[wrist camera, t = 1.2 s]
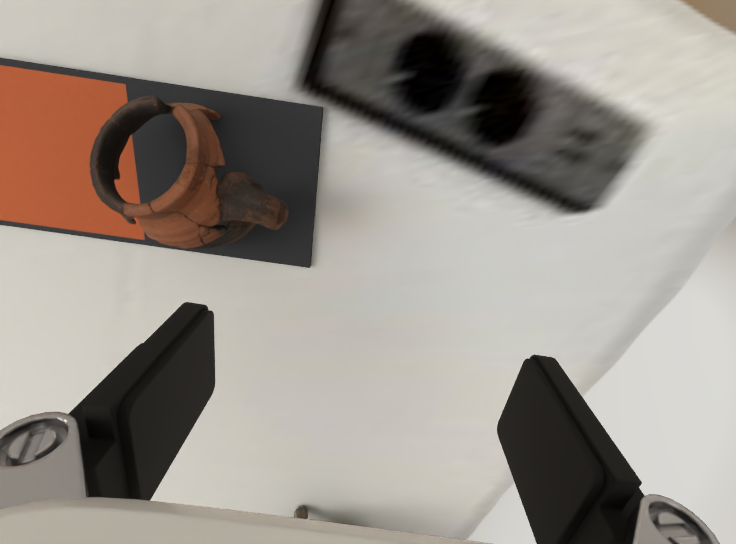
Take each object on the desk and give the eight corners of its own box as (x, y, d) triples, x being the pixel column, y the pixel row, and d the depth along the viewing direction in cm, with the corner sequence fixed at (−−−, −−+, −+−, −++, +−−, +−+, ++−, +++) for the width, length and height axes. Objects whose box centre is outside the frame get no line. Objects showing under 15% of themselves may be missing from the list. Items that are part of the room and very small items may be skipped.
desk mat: (-67, 47, 24) (-74, 46, 24) (323, 107, 25) (322, 107, 24) (-13, 220, 29) (-18, 222, 29) (310, 266, 30) (309, 268, 29)
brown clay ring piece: (162, 242, 29) (57, 218, 21) (192, 130, 30) (100, 66, 22) (297, 276, 27) (236, 265, 19) (328, 154, 27) (282, 91, 19)
